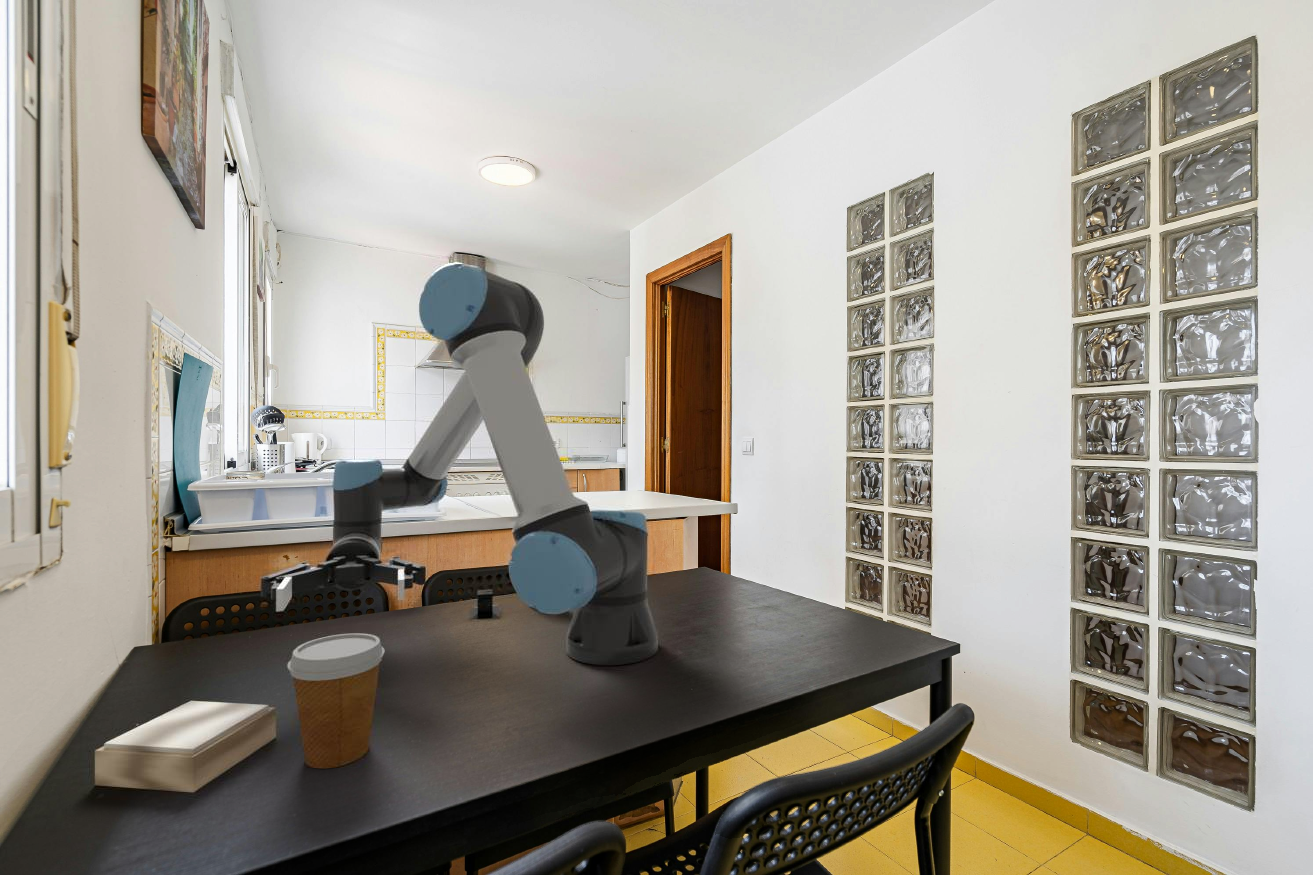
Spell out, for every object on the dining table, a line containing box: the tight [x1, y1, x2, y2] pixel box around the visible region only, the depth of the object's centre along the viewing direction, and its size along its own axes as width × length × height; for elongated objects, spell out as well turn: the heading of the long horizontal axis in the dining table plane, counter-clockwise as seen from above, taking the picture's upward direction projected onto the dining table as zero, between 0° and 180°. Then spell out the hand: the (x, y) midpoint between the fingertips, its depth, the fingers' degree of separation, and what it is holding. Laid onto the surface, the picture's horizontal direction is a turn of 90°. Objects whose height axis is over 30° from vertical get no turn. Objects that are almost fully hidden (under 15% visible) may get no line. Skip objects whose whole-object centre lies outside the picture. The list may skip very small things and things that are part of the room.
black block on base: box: [469, 588, 501, 620], centre depth 122 cm, size 12×7×5 cm, turn 16°
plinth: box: [94, 700, 277, 793], centre depth 66 cm, size 11×11×4 cm
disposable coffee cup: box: [286, 632, 385, 769], centre depth 67 cm, size 10×10×12 cm
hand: (342, 594), depth 76 cm, fingers open, 13 cm apart
